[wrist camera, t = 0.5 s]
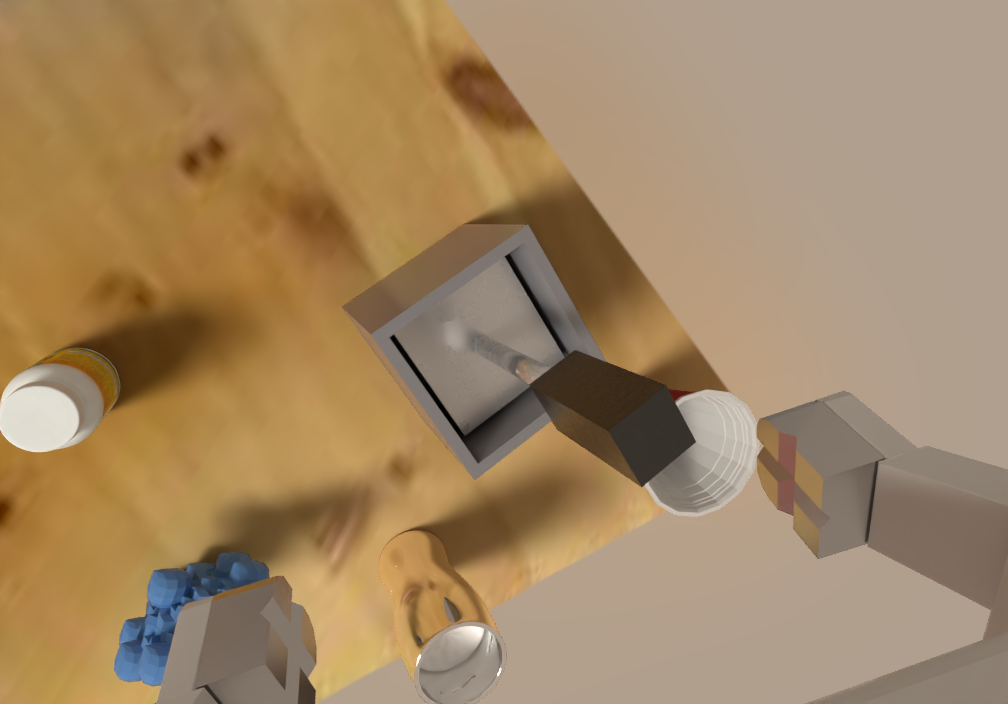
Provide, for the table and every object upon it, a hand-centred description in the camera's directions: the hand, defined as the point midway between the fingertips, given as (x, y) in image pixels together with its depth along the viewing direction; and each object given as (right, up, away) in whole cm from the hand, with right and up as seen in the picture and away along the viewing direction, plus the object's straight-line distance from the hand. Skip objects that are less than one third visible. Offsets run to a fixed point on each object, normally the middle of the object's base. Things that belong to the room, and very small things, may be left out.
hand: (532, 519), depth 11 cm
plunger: (-2, +3, +36) cm, 36 cm away
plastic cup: (+11, -3, +53) cm, 54 cm away
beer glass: (-9, -16, +47) cm, 51 cm away
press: (-6, +5, +44) cm, 45 cm away
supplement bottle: (-31, +1, +36) cm, 47 cm away
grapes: (-25, -14, +41) cm, 50 cm away
